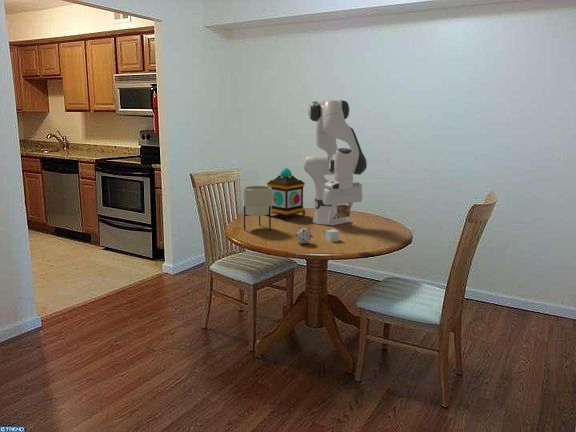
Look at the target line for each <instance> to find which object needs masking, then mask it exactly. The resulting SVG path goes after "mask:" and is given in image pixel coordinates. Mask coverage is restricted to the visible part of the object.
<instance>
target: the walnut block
mask: <svg viewBox="0 0 576 432" xmlns="http://www.w3.org/2000/svg"><path fill="white" fill-rule="evenodd" d="M348 205H349V204H346V203H344V204H337V206H336V207H337V209H338V210H339V213H335V215H336V216H338V217H347V218H350V216H351V211H350V206H348Z"/></svg>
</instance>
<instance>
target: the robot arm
mask: <svg viewBox="0 0 576 432" xmlns="http://www.w3.org/2000/svg"><path fill="white" fill-rule="evenodd" d="M307 114H308V117H309V119H310V120H311V121H313V122H316V127H315V128H316V131H315V134H316V135H315V137H316V139H315V141H316V143H315V144H316V146H317V148H319V149H320V150H322V151H324V152H325V153H326V155H325V154H324V155H321V154H320V155H317V154H315V155H309V156H306V157H305V158H304V161H303V170H304V171H305V173H306V174H308V175H309V176H310V177H311V178H312V180H313V183H314V187H315V189H314V190H315V197H314V213H313V214H314V215H313V218H312V222H313V224H316V225H317V224H318V225H326V226H328V225H329V226H337V225H341V224H346V223H351V219H350V218H349V217H338V216H336V215H335V213H339V210H338V209H337V207H336V206H337V205H341V204H347V205H348V206H350V212H351V209H352V208H353V205H354V204H355V203H361V202H362V201H363V186H362V183H360V182H354V175H359V176H360V175H362V174H363V173H364V172H366V169H367V168H368V167H367V165H368V164H367V162H368V161H367V158H366V157H365V155H364V153H363V151H362V148H361V145H360V143H359V141H358V140H359V139H358V138H357V135H356V132H355V130H354V128H353V127H351V126H349V124H348V123H347V121H346V120H347V118H349V115H350V104H349V103H348V101H346V100H342V99H341V100H338V99H328V100H320V101H315V100H314V101H312V102H310V104H309V106H308V109H307ZM337 140H341V141H343V142H344V143H347V145H348V146H349V148H346V147H341V148H338V144H337ZM326 175H327V176H333V179H332V180H328V179H326V177H325V176H326Z"/></svg>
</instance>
